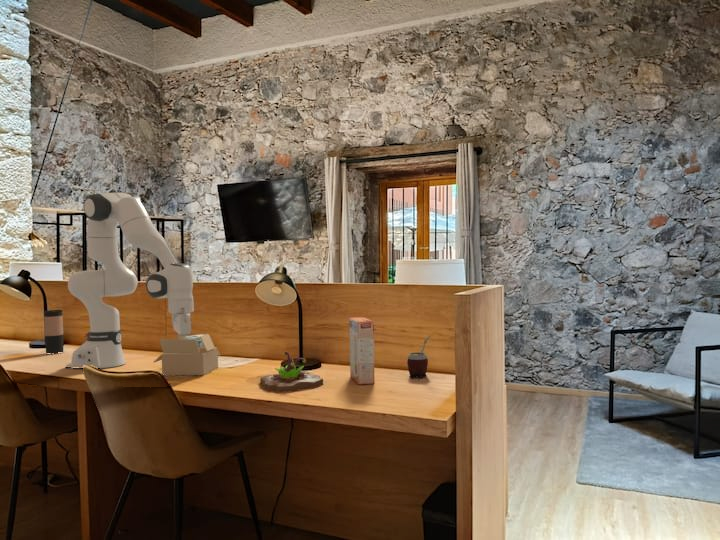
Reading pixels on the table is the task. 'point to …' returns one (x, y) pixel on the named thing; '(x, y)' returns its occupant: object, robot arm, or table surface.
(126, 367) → the table surface
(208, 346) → the flap
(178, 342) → the flap
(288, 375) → the plant
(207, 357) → the carton
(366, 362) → the cracker box
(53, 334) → the travel mug
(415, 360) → the mate gourd
